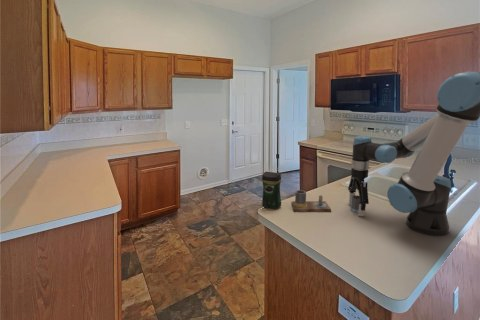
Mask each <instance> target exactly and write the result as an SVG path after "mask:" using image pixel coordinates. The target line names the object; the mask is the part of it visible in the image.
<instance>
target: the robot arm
mask: <svg viewBox="0 0 480 320" xmlns="http://www.w3.org/2000/svg"><path fill="white" fill-rule="evenodd" d="M436 99H437V103H438V105H437V107H436V109H435V110H436V112H437V114H436V115H434V116H433V117H431V118H430V119H428V120H426V121H425V122H423V124H421V125H419V126H417V127H415V129H413V130H412V131H410V132H409V133H407V134H406V135H404V136H403V137H402V138H400V139H399V140H397V141H394V142H386V143H385V142H384V143H378V142H377V143H376V142H372V137H370V136H366V135H365V136H364V135H359V136H358V135H357V136H355V137H354V139H353V144H352V159H351V162H350V164H351V169H350V176H351V177H350V181H349V185H348V187H347V190H348V191H349V197H348V206H351V198H352V196H355V195H356V193H357V191H358V196H359V197H360V202H359V213H357V214H358V215H357V216H358V217H365V216H366V207H367V206H366V205H369V203H370V202H369V193H368V192H369V191H368V182H365V179H367V178H368V176H369V169H370V160H373V161H376V162H380V163H384V164H385V163H387V164H391V163H392V162H394V161H395V160H396V159H397V160H398V159H406V158H409V157H411V156H413V155H414V153H415V152H416V151H417V150H419V149H420V150H419V151H418V153H417V156H416V157H415V159H414V161H413V162H412V165H411V167H410V168H409V170H408V171H406V172H403V173H402V174H401V176H400V178H399V180H398V181H397V183H393V184H392V185H390V186H389V187H388V189H387V192H386V195H387V199H388V201H389V204H390V205H391V206H392V208H393V209H394V210H395V211H398V212H399V213H403V214H408V215H407V217H406V221H405V224H406V225H407V227H408V228H410V229H411V230H413V231H416V232H417V233H421V234H424V235H429V236H436V237H437V236H438V237H439V236H445V235H448V234H449V231H450V223H449V221H448V220H449V219H448V216H447V211H448V204H449V200H450V194H451V189H452V187H451V186H452V181H451V179H450V178H448V177H446V176H441V175H439V173H440V172H441V170H442V168H443V167H444V165H445V164H446V162H447V160H448V158H449V156H451V154H452V152H453V151H454V149H455V147H456V145H457V144H458V142H459V141H460V138H461V137H462V135H463V134H464V133H465V131H466V129H467V127H468V126H469V124H473V123H475V122H478V120H479V119H480V71H464V72H459V73H456V74H454V75H452V76H450V77H448V78H447V79H446V80H444V81H443V83H441V85H440V86H439V88H438V89H437V93H436Z"/></svg>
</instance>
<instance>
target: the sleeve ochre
mask: <svg viewBox="0 0 480 320" xmlns="http://www.w3.org/2000/svg"><path fill="white" fill-rule="evenodd" d="M294 199H295V200H294V201H295V206H297V207H305V206H306V201H307V191H306V190H298V189H297V190H295V198H294Z"/></svg>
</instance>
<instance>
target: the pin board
mask: <svg viewBox="0 0 480 320" xmlns="http://www.w3.org/2000/svg"><path fill="white" fill-rule="evenodd" d="M323 199H324V198H323V195H322V194H321V195H319V196H318V201H314V200H313V201H308V200H306V206H305V207H297V206H295V200H294V201H291V207H292V210H293V212H294V213H331V212H332V209H331V207H330V206H329V204H328V202H326V201H325V200H323Z"/></svg>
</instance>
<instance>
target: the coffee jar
mask: <svg viewBox="0 0 480 320" xmlns="http://www.w3.org/2000/svg"><path fill="white" fill-rule="evenodd" d="M261 182H262V201H261V206H262V207H263V208H265V209H271V210H277V209H280V208H281V207H282V200H281V199H282V197H281V182H282V175H281V173H280V172H272V171H265V172H263V173H262V177H261Z"/></svg>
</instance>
